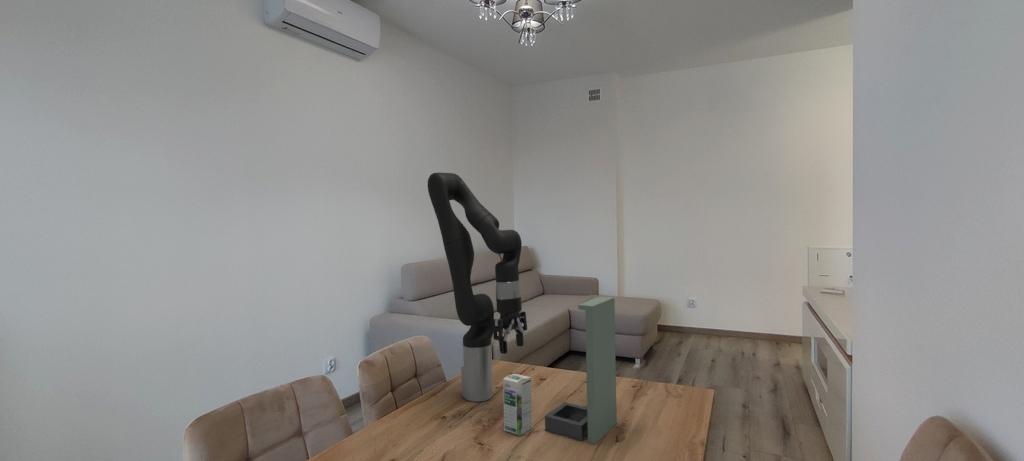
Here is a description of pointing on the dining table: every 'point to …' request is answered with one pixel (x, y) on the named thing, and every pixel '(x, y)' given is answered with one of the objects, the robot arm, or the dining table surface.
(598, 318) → the long narrow green plank
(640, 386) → the dining table surface
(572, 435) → the socket
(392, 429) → the dining table surface
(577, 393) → the dining table surface
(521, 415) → the syrup box
